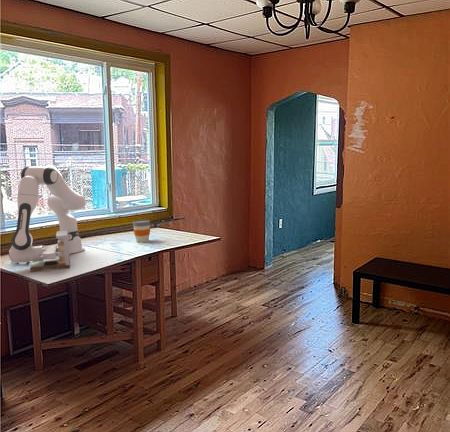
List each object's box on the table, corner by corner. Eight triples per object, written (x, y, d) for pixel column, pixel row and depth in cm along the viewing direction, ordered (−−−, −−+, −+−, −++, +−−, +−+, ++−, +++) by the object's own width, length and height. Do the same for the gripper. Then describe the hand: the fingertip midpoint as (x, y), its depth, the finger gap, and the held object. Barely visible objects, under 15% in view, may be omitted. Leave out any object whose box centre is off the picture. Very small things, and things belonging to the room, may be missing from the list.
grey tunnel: (59, 259, 273) (56, 231, 271) (69, 258, 275) (67, 230, 272) (58, 265, 258) (55, 236, 256) (69, 264, 260) (66, 235, 257)
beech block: (59, 261, 268) (58, 241, 266) (68, 260, 270) (67, 241, 268) (59, 263, 264) (57, 243, 262) (68, 262, 265) (66, 242, 263)
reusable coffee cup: (153, 239, 335) (152, 219, 332) (148, 243, 322) (147, 222, 320) (136, 239, 336) (135, 219, 334) (131, 243, 324) (130, 222, 321)
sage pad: (32, 263, 266) (32, 262, 265) (44, 262, 268) (44, 261, 268) (30, 267, 257) (30, 266, 257) (43, 265, 259) (43, 265, 259)
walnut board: (33, 265, 269) (32, 261, 269) (69, 261, 276) (69, 258, 275) (30, 272, 254) (30, 268, 254) (69, 268, 260) (69, 264, 260)
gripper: (37, 252, 252) (64, 249, 256) (40, 244, 271) (64, 242, 275) (38, 263, 253) (64, 260, 257) (41, 254, 272) (65, 252, 276)
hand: (64, 251), depth 266 cm, fingers open, 8 cm apart
